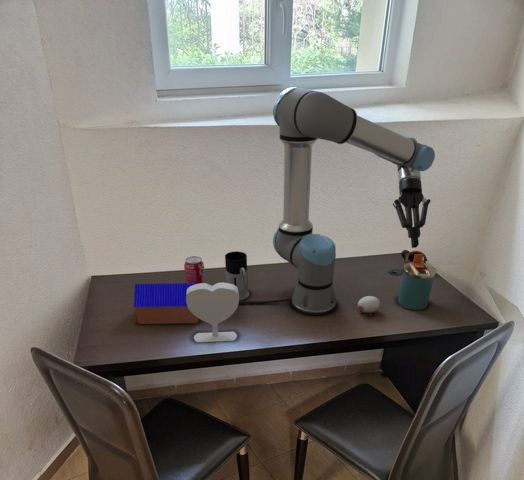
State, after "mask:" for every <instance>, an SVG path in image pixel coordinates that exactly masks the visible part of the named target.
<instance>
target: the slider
mask: <svg viewBox="0 0 524 480" xmlns="http://www.w3.org/2000/svg"><path fill="white" fill-rule="evenodd" d="M422 260H424V257H423V254H415V255H414V260H413V265H414V266H415V267H416V268H425V267H424V265H423V264H422Z"/></svg>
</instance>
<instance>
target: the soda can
mask: <svg viewBox="0 0 524 480" xmlns="http://www.w3.org/2000/svg"><path fill="white" fill-rule="evenodd" d="M183 268H184V278H185V283H198V284H200V283H206V272H205V271H206V270H205V264H204V261H203V259H202V258H201V257H200V256H197V255H191V256H188V257H186V258H185V262H184V264H183Z"/></svg>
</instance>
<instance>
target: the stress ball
mask: <svg viewBox="0 0 524 480" xmlns="http://www.w3.org/2000/svg"><path fill="white" fill-rule="evenodd" d="M380 306H381V302H380V299H379V298H377V297H376V296H372V295H367V296H363V297H361V298H360V299H358V302H357V308H358V310H359V311H360V312H362V313H365V314H369V317H371V316H373V314H372V313H374V312H376V311H377V310H378V309H379V308H380Z"/></svg>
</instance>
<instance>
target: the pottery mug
mask: <svg viewBox="0 0 524 480" xmlns="http://www.w3.org/2000/svg"><path fill="white" fill-rule="evenodd" d="M400 254H401V257H402V259H403V261H404V264H407V263H410V262H413V260H414V255H415V254H423V259H422V261H423V262H424V263H426V264H427V262H428V258H427V256H426V254H425V253H423V252H422V251H420V250H412V251H409V250H408V249H402V251H401V253H400Z"/></svg>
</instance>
